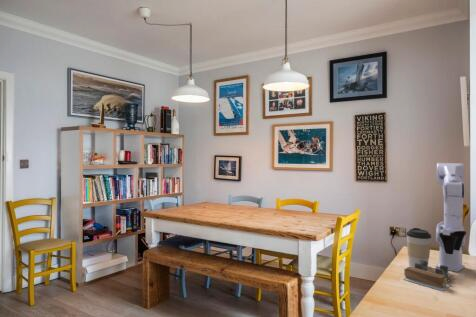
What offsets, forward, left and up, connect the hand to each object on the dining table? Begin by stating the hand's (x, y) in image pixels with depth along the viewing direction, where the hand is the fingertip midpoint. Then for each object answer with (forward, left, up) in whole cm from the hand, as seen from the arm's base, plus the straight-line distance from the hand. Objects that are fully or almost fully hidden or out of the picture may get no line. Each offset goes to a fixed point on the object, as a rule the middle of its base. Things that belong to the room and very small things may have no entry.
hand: (452, 251), depth 121 cm
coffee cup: (-6, -14, -11) cm, 19 cm away
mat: (+10, -5, -10) cm, 15 cm away
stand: (+3, -6, -10) cm, 12 cm away
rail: (+10, -6, -10) cm, 15 cm away
